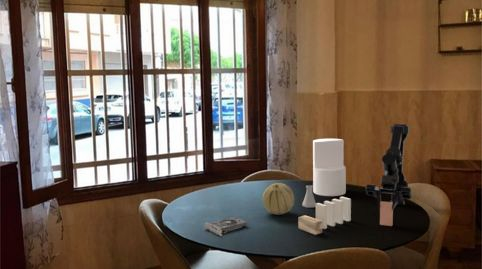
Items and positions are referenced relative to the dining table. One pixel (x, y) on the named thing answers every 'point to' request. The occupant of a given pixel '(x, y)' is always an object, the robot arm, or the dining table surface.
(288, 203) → the cantaloupe
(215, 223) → the graphics card
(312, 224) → the block
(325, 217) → the domino
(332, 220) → the domino
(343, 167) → the cylinder
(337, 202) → the domino
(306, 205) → the flask
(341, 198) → the domino
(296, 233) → the dining table surface
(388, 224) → the domino
